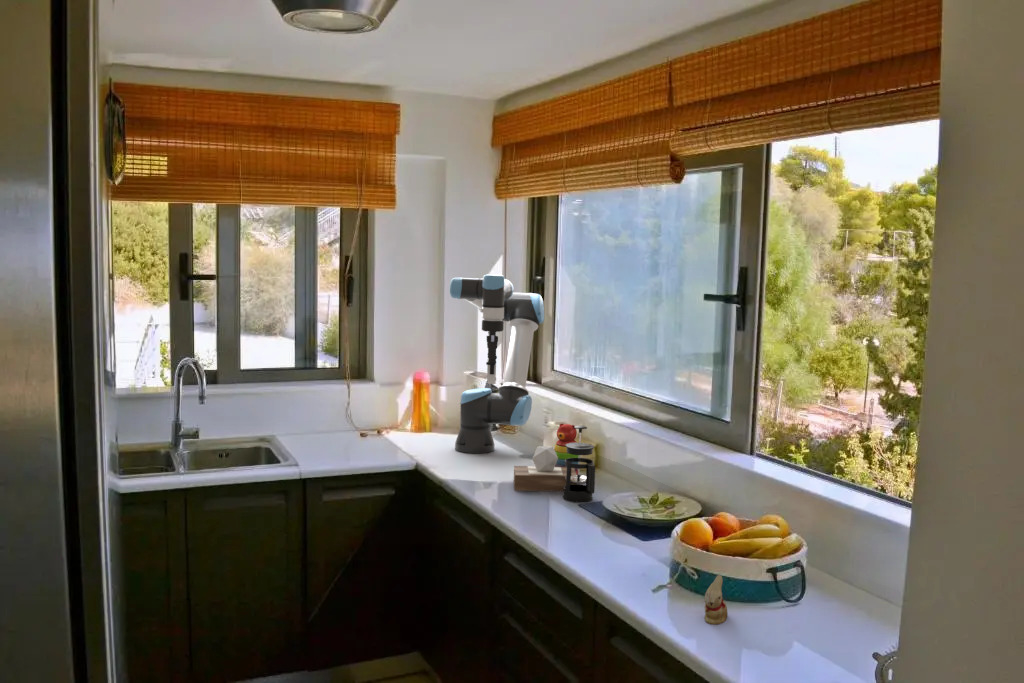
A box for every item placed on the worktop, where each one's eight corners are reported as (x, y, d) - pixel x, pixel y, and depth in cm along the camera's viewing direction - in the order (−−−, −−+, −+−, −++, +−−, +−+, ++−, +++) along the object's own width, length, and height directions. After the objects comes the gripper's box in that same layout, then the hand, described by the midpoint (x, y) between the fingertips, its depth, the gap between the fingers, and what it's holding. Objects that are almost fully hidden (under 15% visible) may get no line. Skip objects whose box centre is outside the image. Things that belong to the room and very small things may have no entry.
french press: (555, 496, 285) (557, 424, 282) (576, 492, 291) (579, 421, 288) (581, 505, 276) (584, 431, 273) (602, 500, 282) (605, 428, 279)
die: (549, 477, 291) (565, 452, 293) (526, 462, 292) (542, 437, 294) (547, 479, 299) (562, 455, 301) (525, 465, 300) (541, 441, 302)
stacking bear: (543, 474, 312) (545, 423, 310) (562, 469, 319) (564, 420, 317) (568, 480, 305) (570, 428, 303) (586, 475, 312) (588, 424, 310)
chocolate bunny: (693, 618, 194) (695, 573, 193) (718, 610, 199) (720, 566, 198) (712, 627, 190) (714, 581, 189) (737, 619, 194) (740, 574, 193)
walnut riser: (513, 480, 303) (514, 465, 302) (573, 481, 303) (573, 466, 303) (514, 490, 291) (515, 474, 290) (576, 491, 291) (577, 475, 291)
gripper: (481, 316, 324) (480, 374, 326) (482, 322, 299) (480, 386, 301) (502, 316, 324) (501, 375, 326) (504, 323, 299) (503, 386, 302)
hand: (491, 380), depth 314 cm, fingers open, 13 cm apart
